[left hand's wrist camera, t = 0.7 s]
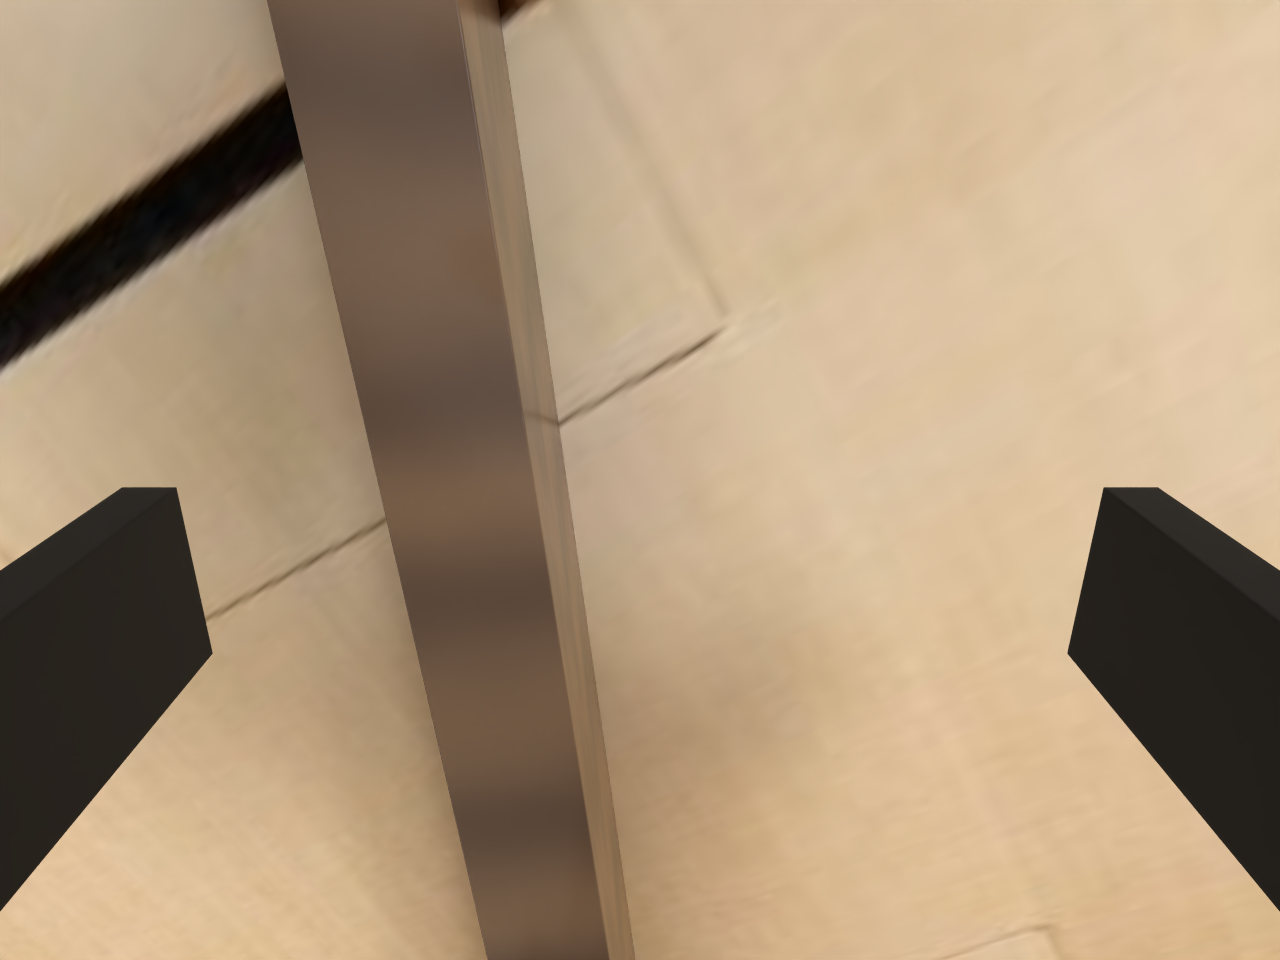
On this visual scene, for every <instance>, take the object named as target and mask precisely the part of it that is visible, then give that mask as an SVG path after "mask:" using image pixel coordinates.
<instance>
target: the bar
mask: <svg viewBox="0 0 1280 960" xmlns="http://www.w3.org/2000/svg"><path fill="white" fill-rule="evenodd" d="M267 2H268V6H269V11H270V15H271V19H272V24H273V28H274V32H275V37H276V41H277V45H278V50H279V54H280V59H281V63H282V67H283V72H284V76H285V80H286V85H287V89H288V93H289V98H290V102H291V106H292V111H293V115H294V119H295V124H296V128H297V132H298V137H299V141H300V145H301V150H302V154H303V159H304V163H305V167H306V172H307V176H308V180H309V185H310V189H311V193H312V198H313V202H314V206H315V211H316V215H317V219H318V224H319V228H320V232H321V237H322V241H323V245H324V250H325V254H326V259H327V263H328V267H329V272H330V276H331V280H332V285H333V289H334V293H335V298H336V302H337V306H338V311H339V315H340V319H341V324H342V328H343V332H344V337H345V341H346V345H347V350H348V354H349V358H350V363H351V367H352V372H353V376H354V380H355V385H356V389H357V393H358V398H359V402H360V406H361V411H362V415H363V419H364V424H365V428H366V432H367V437H368V441H369V445H370V450H371V454H372V458H373V463H374V467H375V472H376V476H377V480H378V485H379V489H380V493H381V498H382V502H383V506H384V511H385V515H386V519H387V524H388V528H389V532H390V537H391V541H392V545H393V550H394V554H395V558H396V563H397V567H398V572H399V576H400V580H401V585H402V589H403V593H404V598H405V602H406V606H407V611H408V615H409V619H410V624H411V628H412V632H413V637H414V641H415V645H416V650H417V654H418V658H419V663H420V667H421V672H422V676H423V680H424V685H425V689H426V693H427V698H428V702H429V706H430V711H431V715H432V719H433V724H434V728H435V732H436V737H437V741H438V745H439V750H440V754H441V758H442V763H443V767H444V771H445V776H446V780H447V785H448V789H449V793H450V798H451V802H452V806H453V811H454V815H455V819H456V824H457V828H458V832H459V837H460V841H461V845H462V850H463V854H464V858H465V863H466V867H467V871H468V876H469V880H470V885H471V889H472V893H473V898H474V902H475V906H476V911H477V915H478V919H479V924H480V928H481V932H482V937H483V941H484V945H485V950H486V954H487V958H488V960H635V955H634V948H633V941H632V934H631V927H630V920H629V913H628V906H627V899H626V892H625V885H624V878H623V871H622V864H621V857H620V850H619V843H618V836H617V829H616V822H615V815H614V808H613V801H612V794H611V787H610V780H609V773H608V766H607V759H606V753H605V746H604V739H603V732H602V725H601V718H600V711H599V704H598V697H597V690H596V683H595V676H594V669H593V662H592V655H591V648H590V641H589V634H588V627H587V620H586V613H585V606H584V599H583V592H582V585H581V578H580V571H579V564H578V557H577V550H576V543H575V536H574V529H573V522H572V515H571V508H570V501H569V494H568V487H567V480H566V473H565V466H564V459H563V452H562V445H561V438H560V431H559V424H558V417H557V410H556V403H555V396H554V389H553V382H552V375H551V368H550V361H549V354H548V347H547V340H546V333H545V327H544V320H543V313H542V306H541V299H540V292H539V285H538V278H537V271H536V264H535V257H534V250H533V243H532V236H531V229H530V222H529V215H528V208H527V201H526V194H525V187H524V180H523V173H522V166H521V159H520V152H519V145H518V138H517V131H516V124H515V117H514V110H513V103H512V96H511V89H510V82H509V75H508V68H507V61H506V54H505V47H504V40H503V33H502V26H501V19H500V12H499V5H498V0H267Z"/></svg>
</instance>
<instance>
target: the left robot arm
mask: <svg viewBox="0 0 1280 960" xmlns="http://www.w3.org/2000/svg"><path fill="white" fill-rule="evenodd" d="M212 654H213V653H212V648H211V644H210V639H209V635H208V630H207V626H206V621H205V616H204V612H203V607H202V603H201V598H200V594H199V589H198V584H197V580H196V575H195V571H194V566H193V562H192V557H191V552H190V548H189V543H188V539H187V534H186V530H185V525H184V521H183V516H182V511H181V507H180V502H179V498H178V493H177V489H176V487H122V488H121V489H119V490H118V491H116V492H115V493H113V494H112V495H110V496H109V497H107V498H106V499H105V500H103V501H102V502H100V503H99V504H97V505H96V506H94V507H93V508H91V509H90V510H88V511H87V512H85V513H84V514H83V515H81V516H80V517H78V518H77V519H75V520H74V521H72V522H71V523H69V524H68V525H66V526H65V527H63V528H62V529H61V530H59V531H58V532H56V533H55V534H53V535H52V536H50V537H49V538H47V539H46V540H44V541H43V542H41V543H40V544H39V545H37V546H36V547H34V548H33V549H31V550H30V551H28V552H27V553H25V554H24V555H22V556H21V557H20V558H18V559H17V560H15V561H14V562H12V563H11V564H9V565H8V566H6V567H5V568H3V569H2V570H0V911H1V910H2V909H3V907H4V906H5V905H6V904H7V903H8V901H9V900H10V899H11V898H12V897H13V895H14V894H15V893H16V892H17V890H18V889H19V888H20V887H21V886H22V884H23V883H24V882H25V881H26V879H27V878H28V877H29V876H30V875H31V873H32V872H33V871H34V870H35V869H36V867H37V866H38V865H39V864H40V862H41V861H42V860H43V859H44V858H45V856H46V855H47V854H48V853H49V852H50V850H51V849H52V848H53V847H54V845H55V844H56V843H57V842H58V841H59V839H60V838H61V837H62V836H63V835H64V833H65V832H66V831H67V830H68V828H69V827H70V826H71V825H72V824H73V822H74V821H75V820H76V819H77V818H78V816H79V815H80V814H81V813H82V811H83V810H84V809H85V808H86V807H87V805H88V804H89V803H90V802H91V801H92V799H93V798H94V797H95V796H96V794H97V793H98V792H99V791H100V790H101V788H102V787H103V786H104V785H105V784H106V782H107V781H108V780H109V779H110V777H111V776H112V775H113V774H114V773H115V771H116V770H117V769H118V768H119V767H120V765H121V764H122V763H123V762H124V760H125V759H126V758H127V757H128V756H129V754H130V753H131V752H132V751H133V750H134V748H135V747H136V746H137V745H138V743H139V742H140V741H141V740H142V739H143V737H144V736H145V735H146V734H147V733H148V731H149V730H150V729H151V728H152V726H153V725H154V724H155V723H156V722H157V720H158V719H159V718H160V717H161V716H162V714H163V713H164V712H165V711H166V709H167V708H168V707H169V706H170V705H171V703H172V702H173V701H174V700H175V698H176V697H177V696H178V695H179V694H180V692H181V691H182V690H183V689H184V688H185V686H186V685H187V684H188V683H189V681H190V680H191V679H192V678H193V677H194V675H195V674H196V673H197V672H198V671H199V669H200V668H201V667H202V666H203V664H204V663H205V662H206V661H207V660H208V658H209V657H210V656H211V655H212ZM1067 654H1068V655H1069V656H1070V657H1071V658H1072V660H1073V661H1074V662H1075V663H1076V664H1077V666H1078V667H1079V668H1080V669H1081V671H1082V672H1083V673H1084V674H1085V675H1086V677H1087V678H1088V679H1089V680H1090V681H1091V683H1092V684H1093V685H1094V686H1095V688H1096V689H1097V690H1098V691H1099V692H1100V694H1101V695H1102V696H1103V697H1104V699H1105V700H1106V701H1107V702H1108V703H1109V705H1110V706H1111V707H1112V708H1113V709H1114V711H1115V712H1116V713H1117V714H1118V716H1119V717H1120V718H1121V719H1122V720H1123V722H1124V723H1125V724H1126V725H1127V726H1128V728H1129V729H1130V730H1131V731H1132V733H1133V734H1134V735H1135V736H1136V737H1137V739H1138V740H1139V741H1140V742H1141V743H1142V745H1143V746H1144V747H1145V748H1146V750H1147V751H1148V752H1149V753H1150V754H1151V756H1152V757H1153V758H1154V759H1155V760H1156V762H1157V763H1158V764H1159V765H1160V767H1161V768H1162V769H1163V770H1164V771H1165V773H1166V774H1167V775H1168V776H1169V777H1170V779H1171V780H1172V781H1173V782H1174V784H1175V785H1176V786H1177V787H1178V788H1179V790H1180V791H1181V792H1182V793H1183V794H1184V796H1185V797H1186V798H1187V799H1188V801H1189V802H1190V803H1191V804H1192V805H1193V807H1194V808H1195V809H1196V810H1197V811H1198V813H1199V814H1200V815H1201V816H1202V818H1203V819H1204V820H1205V821H1206V822H1207V824H1208V825H1209V826H1210V827H1211V828H1212V830H1213V831H1214V832H1215V833H1216V835H1217V836H1218V837H1219V838H1220V839H1221V841H1222V842H1223V843H1224V844H1225V845H1226V847H1227V848H1228V849H1229V850H1230V852H1231V853H1232V854H1233V855H1234V856H1235V858H1236V859H1237V860H1238V861H1239V862H1240V864H1241V865H1242V866H1243V867H1244V869H1245V870H1246V871H1247V872H1248V873H1249V875H1250V876H1251V877H1252V878H1253V880H1254V881H1255V882H1256V883H1257V884H1258V886H1259V887H1260V888H1261V889H1262V890H1263V892H1264V893H1265V894H1266V895H1267V897H1268V898H1269V899H1270V900H1271V901H1272V903H1273V904H1274V905H1275V906H1276V907H1277V909H1278V910H1279V911H1280V570H1278V569H1277V568H1275V567H1274V566H1272V565H1271V564H1269V563H1268V562H1266V561H1265V560H1263V559H1262V558H1260V557H1259V556H1258V555H1256V554H1255V553H1253V552H1252V551H1250V550H1249V549H1247V548H1246V547H1244V546H1243V545H1241V544H1240V543H1238V542H1237V541H1236V540H1234V539H1233V538H1231V537H1230V536H1228V535H1227V534H1225V533H1224V532H1222V531H1221V530H1219V529H1218V528H1217V527H1215V526H1214V525H1212V524H1211V523H1209V522H1208V521H1206V520H1205V519H1203V518H1202V517H1200V516H1199V515H1197V514H1196V513H1195V512H1193V511H1192V510H1190V509H1189V508H1187V507H1186V506H1184V505H1183V504H1181V503H1180V502H1178V501H1177V500H1175V499H1174V498H1173V497H1171V496H1170V495H1168V494H1167V493H1165V492H1164V491H1162V490H1161V489H1159V488H1158V487H1104V489H1103V493H1102V498H1101V502H1100V507H1099V511H1098V516H1097V521H1096V525H1095V530H1094V534H1093V539H1092V543H1091V548H1090V552H1089V557H1088V562H1087V566H1086V571H1085V575H1084V580H1083V584H1082V589H1081V594H1080V598H1079V603H1078V607H1077V612H1076V616H1075V621H1074V625H1073V630H1072V635H1071V639H1070V644H1069V648H1068V653H1067Z"/></svg>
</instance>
